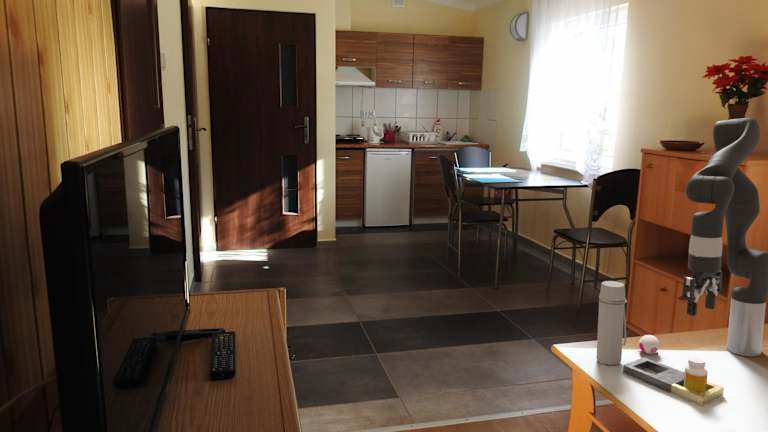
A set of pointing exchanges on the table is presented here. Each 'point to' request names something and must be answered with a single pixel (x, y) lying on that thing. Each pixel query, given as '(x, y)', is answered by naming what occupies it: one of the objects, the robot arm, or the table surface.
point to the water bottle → (611, 322)
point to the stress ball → (649, 344)
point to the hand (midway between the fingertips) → (700, 311)
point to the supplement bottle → (695, 375)
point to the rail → (671, 381)
